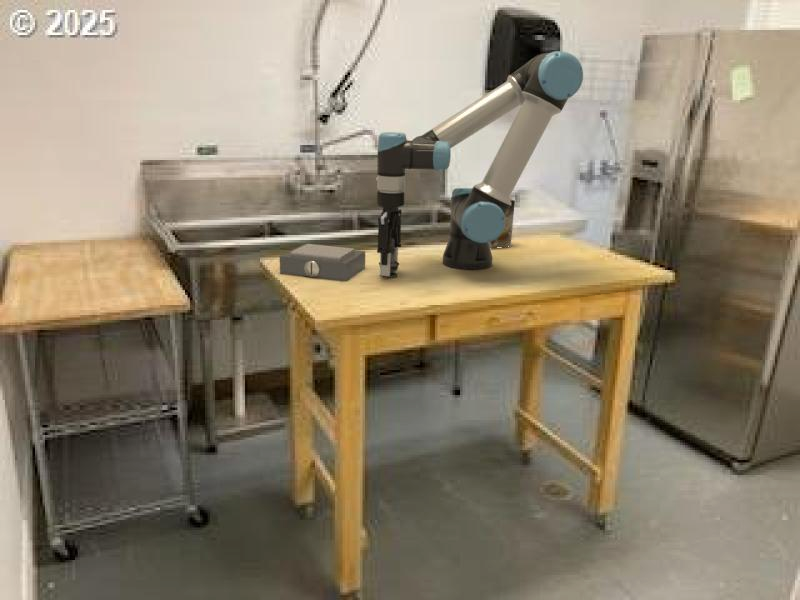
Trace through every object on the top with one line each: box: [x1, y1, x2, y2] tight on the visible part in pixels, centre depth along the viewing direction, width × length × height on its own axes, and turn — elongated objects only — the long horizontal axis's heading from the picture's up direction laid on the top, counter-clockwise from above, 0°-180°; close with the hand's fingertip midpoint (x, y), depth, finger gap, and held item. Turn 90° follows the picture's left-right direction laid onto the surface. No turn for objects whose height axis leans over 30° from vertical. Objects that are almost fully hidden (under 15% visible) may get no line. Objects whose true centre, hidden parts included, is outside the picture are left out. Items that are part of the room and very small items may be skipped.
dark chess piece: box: [378, 237, 400, 279], centre depth 188 cm, size 6×6×12 cm
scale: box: [279, 243, 366, 282], centre depth 192 cm, size 20×16×6 cm
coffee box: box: [489, 198, 516, 248], centre depth 225 cm, size 9×6×16 cm
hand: (388, 272), depth 190 cm, fingers open, 6 cm apart
